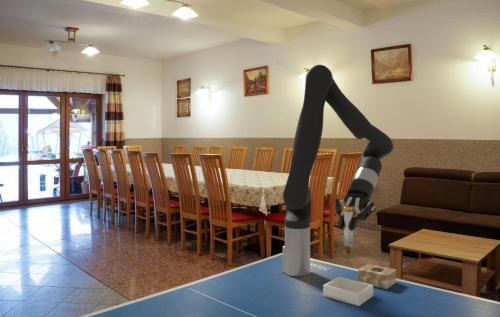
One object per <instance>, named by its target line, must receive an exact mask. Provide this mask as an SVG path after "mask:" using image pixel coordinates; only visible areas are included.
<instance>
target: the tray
mask: <svg viewBox="0 0 500 317" xmlns="http://www.w3.org/2000/svg"><path fill="white" fill-rule="evenodd" d="M322 288H323V289H322V296H323V297H325V298H328V299H332V300H336V301H339V302H343V303H347V304H350V305H353V306H357V307H360V306H362V304H364V303H365V302H366V301H368V300H369V299H371V298H372V297H374V286H373V285H372V284H367V283H363V282H359V281H358V280H353V279H349V278H346V277H342V276H338V277H336V278H334V279H332V280H330V281H328V282H327V283H325V284H323V285H322Z"/></svg>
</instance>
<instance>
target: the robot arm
mask: <svg viewBox="0 0 500 317" xmlns="http://www.w3.org/2000/svg"><path fill="white" fill-rule="evenodd" d="M303 96H304V97H303V102H302V103H303V104H302V108H301V109H300V110H301V111H300V114H299V118H298V120H297V126H296V129H295V134H294V139H293V145H292V153H291V159H290V160H291V161H290V162H291V163H290V167H289V168H290V169H289V172H288V177H287V180H286V182H285V186H284V189H283V193H282V199H283V202H284V204H285V206H286V213H285V217H284V245H283V246H282V273H284V274H286V275H287V276H291V277H306V276H308V275H310V274H311V219H312V191H311V189H310V187H309V183H310V176H311V173H312V170H313V166H314V164H315V162H316V159H317V156H318V153H319V149H320V146H321V140H322V136H323V128H324V112H325V106H326V104H325V103H327V104H328V105H329V106H330V108H331V109H332V111H334V113H335V114H336V115H337V117H338V118H339V119H340V120H341V122H342V123H343V125H344V126H345V127H346V129H348V131H349V132H350V133H351V134H352V135H353V136H354V138H356V140H362V139H366V140H368V142H367V143H366V144H365V145H364V147H363V149H362V151H361V160H360V164H359V165H358V166H359V167H358V168H357V170H356V172H355V174H354V176H353V177H352V180H351V182H350V185H349V187H348V188H347V193H346V195H345V196H344V197H343V198H342V199H339V198H336V199H335V201H334V202H335V211H336V214H337V216H338V217H339V220H338V222H337V226H338V228H339V229H340V230H344V210H343V206H354V210H353V217H352V219H351V221H350V223H349V226H348V228H349V230H350V231H353V232H354V230H355V229H356V227H357V225H358V222H360V221H363V222H364V221H366V220H367V219H368V218H369V217H370V216H371V215H372V214H373V213H374V212H375V211H376V210H377V207H376V205H375V202H373V201H372V202H371V198H372V196H373V193H374V191H375V189H376V186H377V184H378V183H377V182H378V178H379V176H380V173H381V171H382V166H383V164H382V161H381V159H383V158H384V157H386V156H388V155H389V154H390V153H391V152H392V151H393V149H394V144H393V141H392V139H391V137H390V136H388V135H387V134H386V133H385V132H384V131H382V130H380V129H379V128H378V127H377V126H375V125H373V124H372V123H371V122H370V121H369V119H368V118H367V117H366V116H365V115H364V113H362V112H361V111H360V110H359V108H358V107H357V106H356V105H354V103H353V102H351V101H350V100H349V98H347V96H346V95H345V94H344V93H343V91H342V90H341V89H340V88H339V86H338V84H337V82H336V81H335V79H334V77H333V74H332V71H331V69H329V67H327V66H326V65H324V64H316V65H313V66H312V67H311V68H310V69H308V71H307V73H306V74H305V85H304V95H303Z"/></svg>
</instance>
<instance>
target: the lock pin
mask: <svg viewBox="0 0 500 317" xmlns="http://www.w3.org/2000/svg"><path fill="white" fill-rule="evenodd" d="M343 210H344V228H343V246H344V247H345V248H346V247H347V248H349V247H351V248H352V247H353V246H354V230H353V231H350V230H349V228H348V226H349V223H350V221H351V219H352V217H354V216H353V215H354V211H353V210H354V206H345V205H343V207H342V211H343Z"/></svg>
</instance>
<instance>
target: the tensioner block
mask: <svg viewBox="0 0 500 317" xmlns="http://www.w3.org/2000/svg"><path fill="white" fill-rule="evenodd" d="M357 281H359V282H363V283H367V284H372V285H373V287H375V288H379V289H383V290H388V289H389V288H391V287H392V286H393V285H395V284H396V283H397V269H395V268H391V267H386V266H380V265H374V264H370V263H367V264H366V265H364V266H361V267H360V268H359V269H357Z"/></svg>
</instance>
